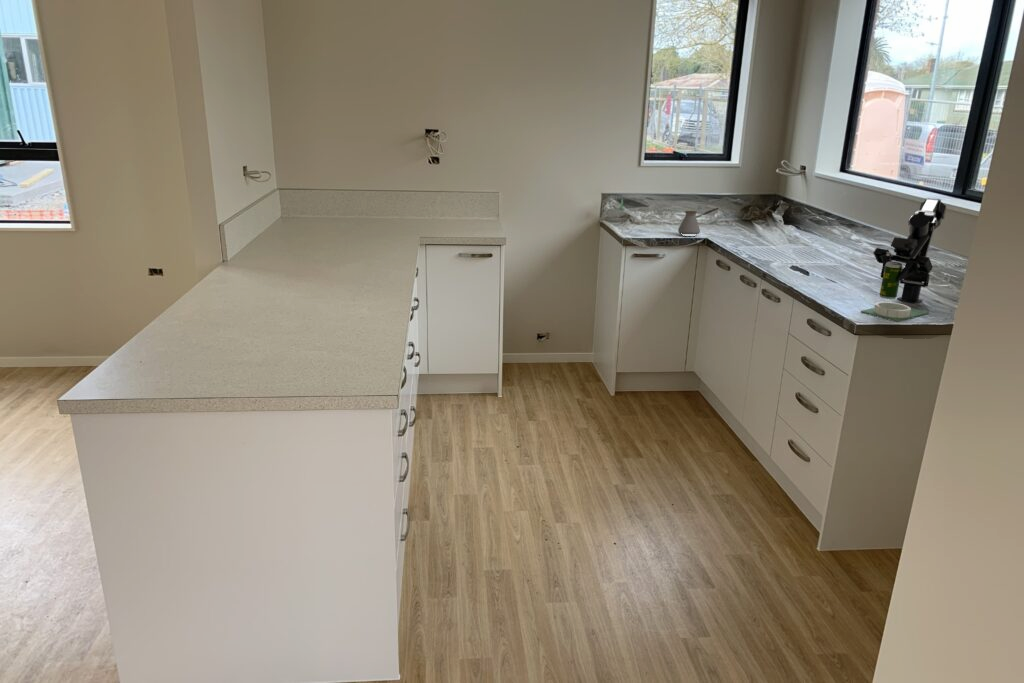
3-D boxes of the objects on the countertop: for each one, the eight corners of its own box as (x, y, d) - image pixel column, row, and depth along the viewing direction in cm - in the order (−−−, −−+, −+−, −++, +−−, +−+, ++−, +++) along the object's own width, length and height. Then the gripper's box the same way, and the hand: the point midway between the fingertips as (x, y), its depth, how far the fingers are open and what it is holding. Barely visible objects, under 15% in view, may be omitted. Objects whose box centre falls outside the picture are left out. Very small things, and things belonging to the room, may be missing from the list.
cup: (884, 307, 258) (886, 300, 257) (915, 314, 250) (917, 307, 249) (867, 311, 252) (868, 304, 251) (898, 319, 244) (899, 312, 243)
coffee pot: (682, 237, 381) (685, 209, 376) (674, 233, 392) (677, 205, 387) (720, 237, 384) (724, 209, 380) (711, 233, 395) (715, 206, 390)
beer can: (890, 295, 254) (897, 261, 250) (899, 299, 248) (906, 265, 245) (875, 295, 253) (882, 261, 249) (884, 299, 248) (891, 265, 244)
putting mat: (892, 304, 264) (892, 303, 263) (928, 313, 253) (928, 312, 253) (860, 312, 253) (861, 310, 253) (897, 321, 243) (897, 320, 242)
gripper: (881, 224, 253) (857, 258, 251) (935, 233, 238) (909, 269, 236) (890, 244, 259) (866, 278, 257) (943, 254, 244) (918, 290, 242)
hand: (889, 278), depth 248 cm, fingers closed on beer can, 5 cm apart
